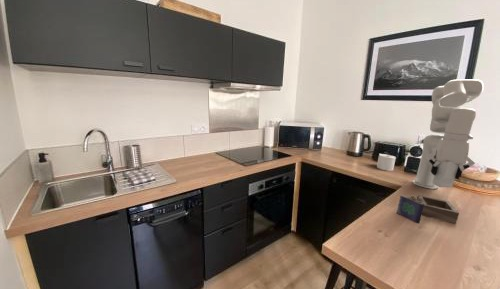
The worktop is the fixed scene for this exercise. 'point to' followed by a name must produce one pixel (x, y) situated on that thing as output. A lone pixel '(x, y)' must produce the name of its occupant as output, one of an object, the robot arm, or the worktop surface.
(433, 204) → the holder
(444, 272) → the worktop surface
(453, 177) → the skincare box
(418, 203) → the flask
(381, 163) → the toilet tissue
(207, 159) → the worktop surface
